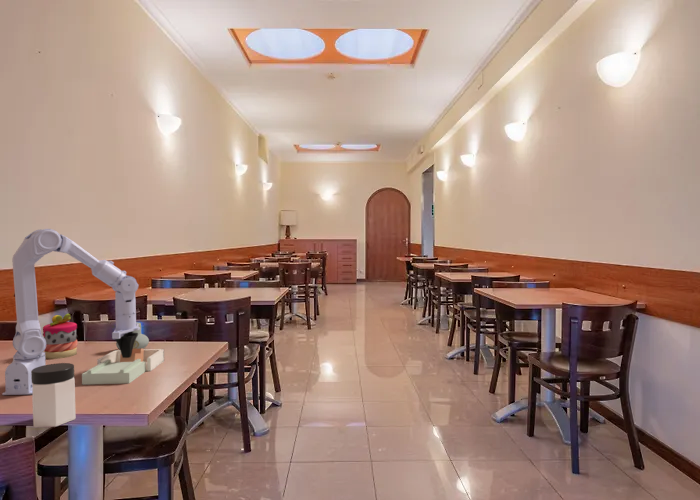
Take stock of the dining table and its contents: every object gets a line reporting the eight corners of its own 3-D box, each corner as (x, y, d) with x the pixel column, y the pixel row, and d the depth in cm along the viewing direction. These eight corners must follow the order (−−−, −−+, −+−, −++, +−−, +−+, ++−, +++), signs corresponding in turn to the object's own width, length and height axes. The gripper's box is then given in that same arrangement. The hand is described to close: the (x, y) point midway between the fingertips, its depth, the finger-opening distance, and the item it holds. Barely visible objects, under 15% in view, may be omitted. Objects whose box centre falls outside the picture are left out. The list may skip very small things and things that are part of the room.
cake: (35, 358, 160) (34, 315, 160) (61, 351, 170) (60, 310, 170) (60, 359, 158) (59, 316, 157) (84, 352, 168) (83, 311, 168)
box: (150, 371, 143) (150, 358, 143) (97, 372, 142) (97, 359, 142) (164, 360, 155) (164, 349, 155) (115, 362, 154) (115, 350, 154)
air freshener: (113, 353, 165) (112, 326, 165) (121, 348, 174) (120, 322, 173) (144, 352, 167) (144, 325, 167) (151, 347, 175) (151, 321, 175)
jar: (84, 412, 108) (82, 362, 108) (66, 426, 100) (64, 371, 100) (43, 414, 108) (42, 363, 107) (22, 428, 99) (20, 373, 99)
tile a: (134, 361, 145) (135, 353, 145) (119, 362, 144) (120, 353, 145) (140, 361, 149) (140, 353, 150) (126, 361, 149) (126, 353, 149)
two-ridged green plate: (129, 383, 131) (129, 369, 131) (82, 384, 130) (81, 370, 130) (145, 371, 143) (145, 358, 142) (102, 372, 142) (102, 359, 142)
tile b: (140, 348, 150) (143, 348, 152) (126, 348, 150) (129, 348, 152) (139, 362, 149) (142, 362, 151) (125, 363, 149) (128, 362, 151)
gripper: (129, 317, 137) (130, 363, 137) (147, 310, 151) (148, 351, 152) (104, 317, 136) (105, 363, 137) (125, 310, 151) (126, 351, 151)
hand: (126, 357), depth 144 cm, fingers closed
